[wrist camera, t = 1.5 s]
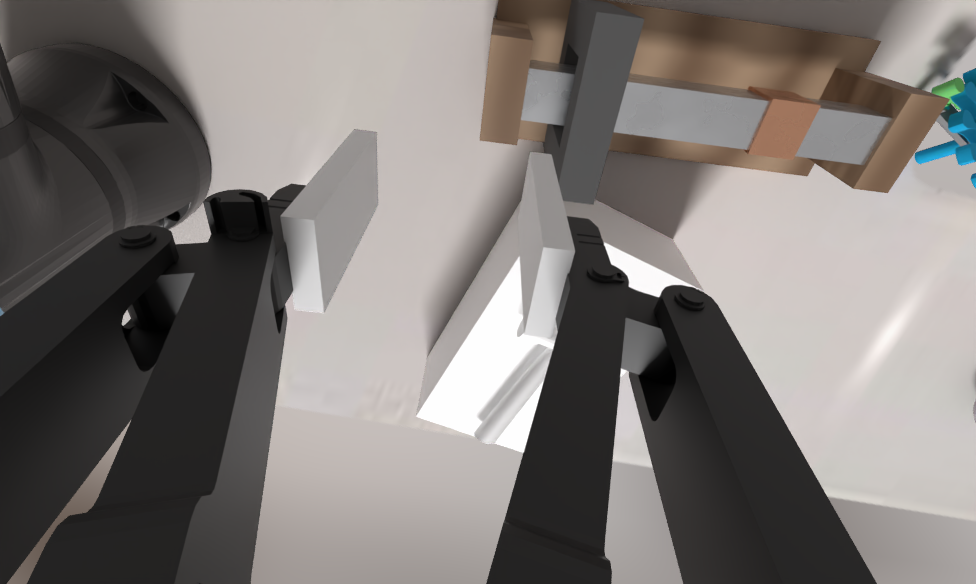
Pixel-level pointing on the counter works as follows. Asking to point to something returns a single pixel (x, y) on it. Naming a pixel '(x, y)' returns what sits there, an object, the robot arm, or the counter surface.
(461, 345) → the white pegged block
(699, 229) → the counter surface
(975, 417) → the vase
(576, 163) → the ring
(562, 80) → the light grey bar
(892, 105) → the wooden stand
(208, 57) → the counter surface
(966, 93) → the gear
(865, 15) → the counter surface
